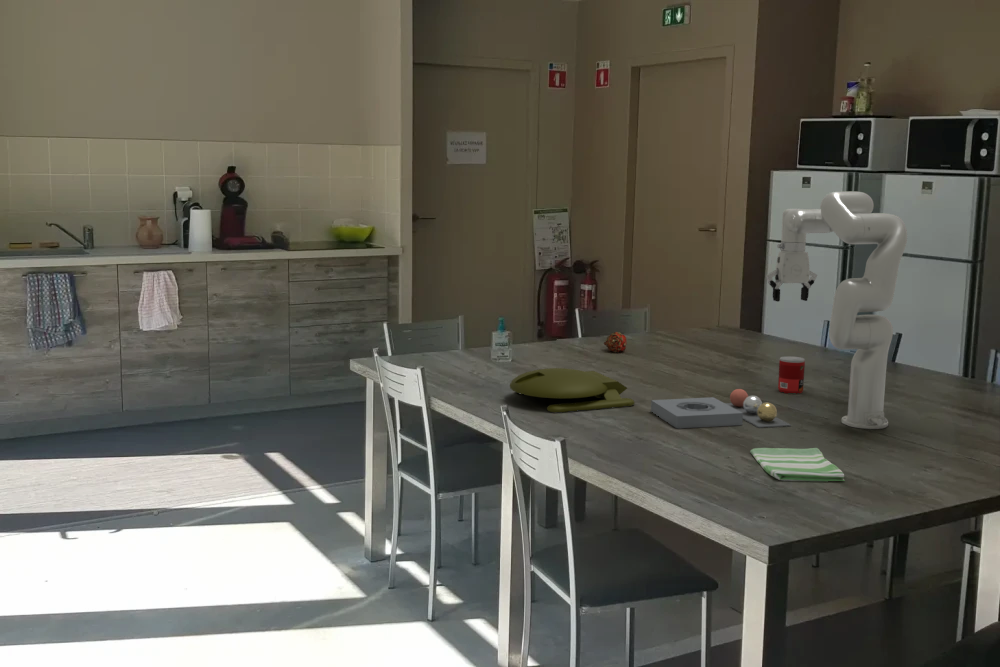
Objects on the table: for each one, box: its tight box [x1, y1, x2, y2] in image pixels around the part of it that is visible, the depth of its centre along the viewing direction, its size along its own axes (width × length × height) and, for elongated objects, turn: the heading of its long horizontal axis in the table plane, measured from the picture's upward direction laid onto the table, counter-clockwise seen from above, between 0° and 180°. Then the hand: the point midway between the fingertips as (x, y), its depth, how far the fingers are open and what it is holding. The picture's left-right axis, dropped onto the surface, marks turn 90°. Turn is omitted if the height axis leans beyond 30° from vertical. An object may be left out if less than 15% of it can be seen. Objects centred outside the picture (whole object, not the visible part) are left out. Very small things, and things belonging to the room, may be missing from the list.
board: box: [650, 396, 743, 429], centre depth 297 cm, size 20×20×4 cm
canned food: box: [777, 356, 806, 395], centre depth 332 cm, size 8×8×11 cm
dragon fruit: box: [603, 331, 627, 353], centre depth 401 cm, size 8×8×12 cm
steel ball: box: [743, 395, 763, 414], centre depth 301 cm, size 6×6×6 cm
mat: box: [724, 402, 792, 429], centre depth 301 cm, size 28×10×1 cm, turn 13°
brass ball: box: [757, 402, 778, 422], centre depth 292 cm, size 6×6×6 cm
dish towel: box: [749, 447, 846, 482], centre depth 250 cm, size 18×23×3 cm
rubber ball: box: [729, 388, 749, 407], centre depth 309 cm, size 6×6×6 cm
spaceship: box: [509, 367, 635, 413], centre depth 319 cm, size 35×31×10 cm
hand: (790, 300), depth 328 cm, fingers open, 9 cm apart
